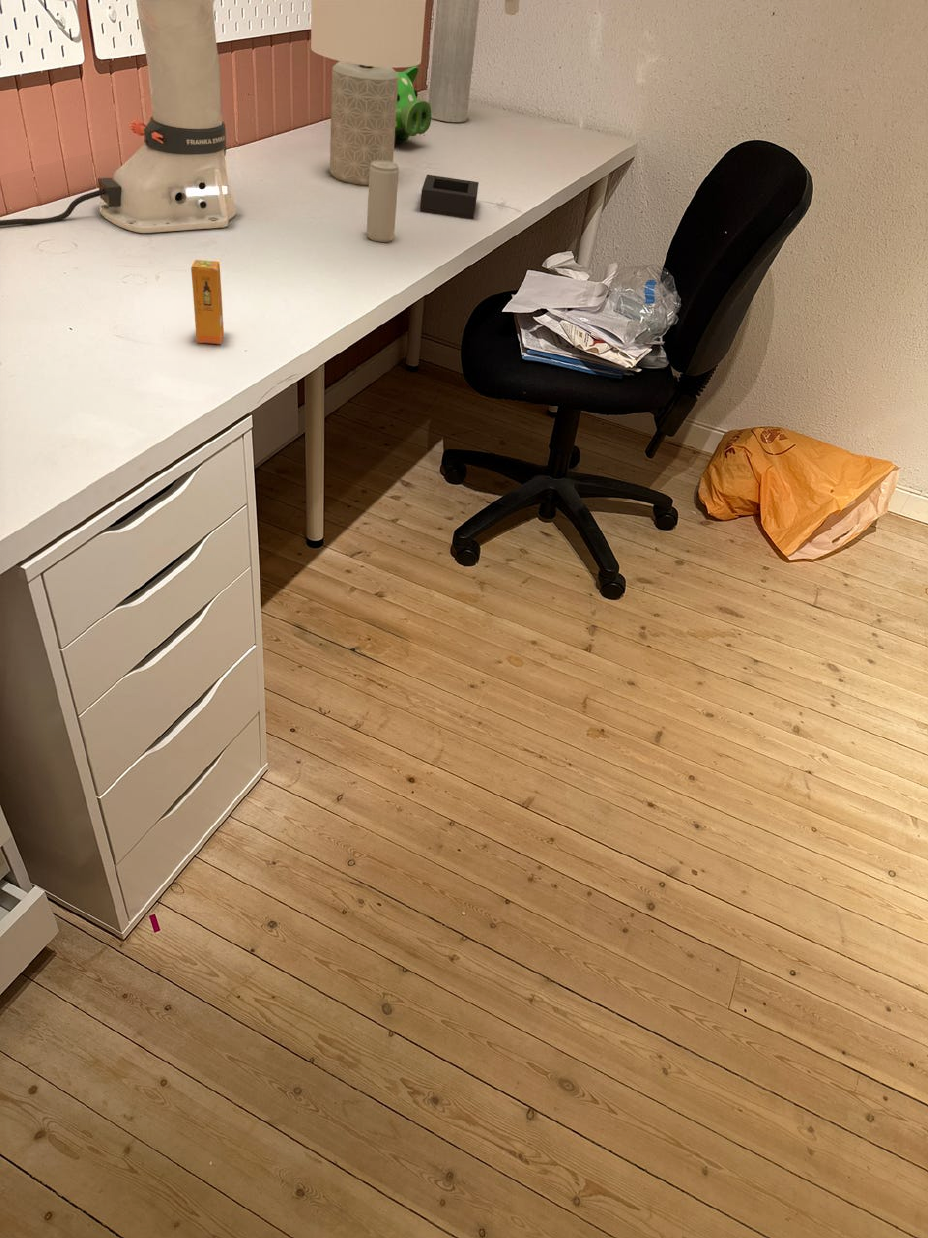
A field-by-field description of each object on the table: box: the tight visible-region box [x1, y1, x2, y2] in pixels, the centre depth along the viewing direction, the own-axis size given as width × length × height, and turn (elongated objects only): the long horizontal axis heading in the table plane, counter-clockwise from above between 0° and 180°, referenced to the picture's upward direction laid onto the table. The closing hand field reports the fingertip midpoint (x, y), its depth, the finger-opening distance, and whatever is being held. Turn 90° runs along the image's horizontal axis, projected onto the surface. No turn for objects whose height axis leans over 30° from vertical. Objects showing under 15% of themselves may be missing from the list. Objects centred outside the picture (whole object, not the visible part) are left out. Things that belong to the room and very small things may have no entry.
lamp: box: [310, 0, 427, 186], centre depth 174 cm, size 21×21×42 cm
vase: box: [427, 0, 480, 124], centre depth 226 cm, size 10×10×27 cm
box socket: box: [419, 174, 479, 220], centre depth 177 cm, size 10×10×4 cm
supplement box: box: [190, 259, 225, 345], centre depth 120 cm, size 3×3×10 cm
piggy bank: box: [394, 65, 432, 143], centre depth 206 cm, size 14×18×15 cm
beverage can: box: [366, 160, 400, 243], centre depth 157 cm, size 5×5×12 cm
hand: (521, 0), depth 139 cm, fingers open, 8 cm apart
